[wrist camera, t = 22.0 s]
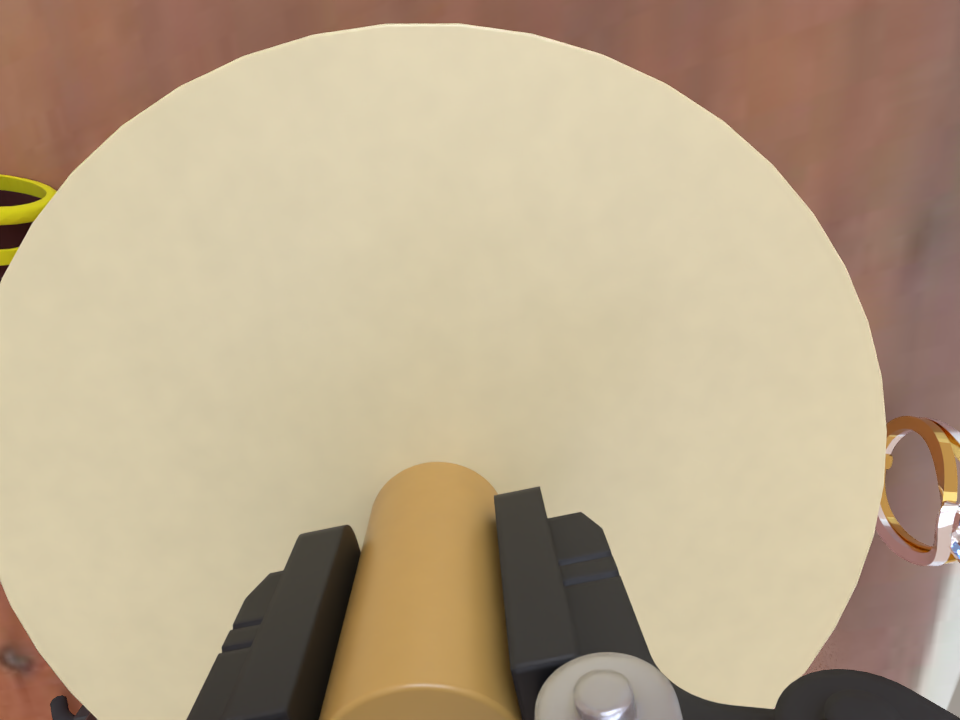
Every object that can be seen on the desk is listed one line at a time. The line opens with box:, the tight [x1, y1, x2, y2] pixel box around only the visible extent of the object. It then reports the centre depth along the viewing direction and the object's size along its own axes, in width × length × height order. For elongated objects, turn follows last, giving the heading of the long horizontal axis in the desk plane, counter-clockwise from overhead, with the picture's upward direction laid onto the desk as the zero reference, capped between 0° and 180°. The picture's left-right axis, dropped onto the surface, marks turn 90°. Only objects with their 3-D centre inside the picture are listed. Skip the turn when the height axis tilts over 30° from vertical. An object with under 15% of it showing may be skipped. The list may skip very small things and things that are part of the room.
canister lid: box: [0, 23, 887, 720], centre depth 9 cm, size 15×15×6 cm
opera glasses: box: [0, 175, 57, 282], centre depth 28 cm, size 10×5×5 cm, turn 95°
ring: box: [875, 416, 960, 566], centre depth 31 cm, size 7×3×8 cm, turn 174°
